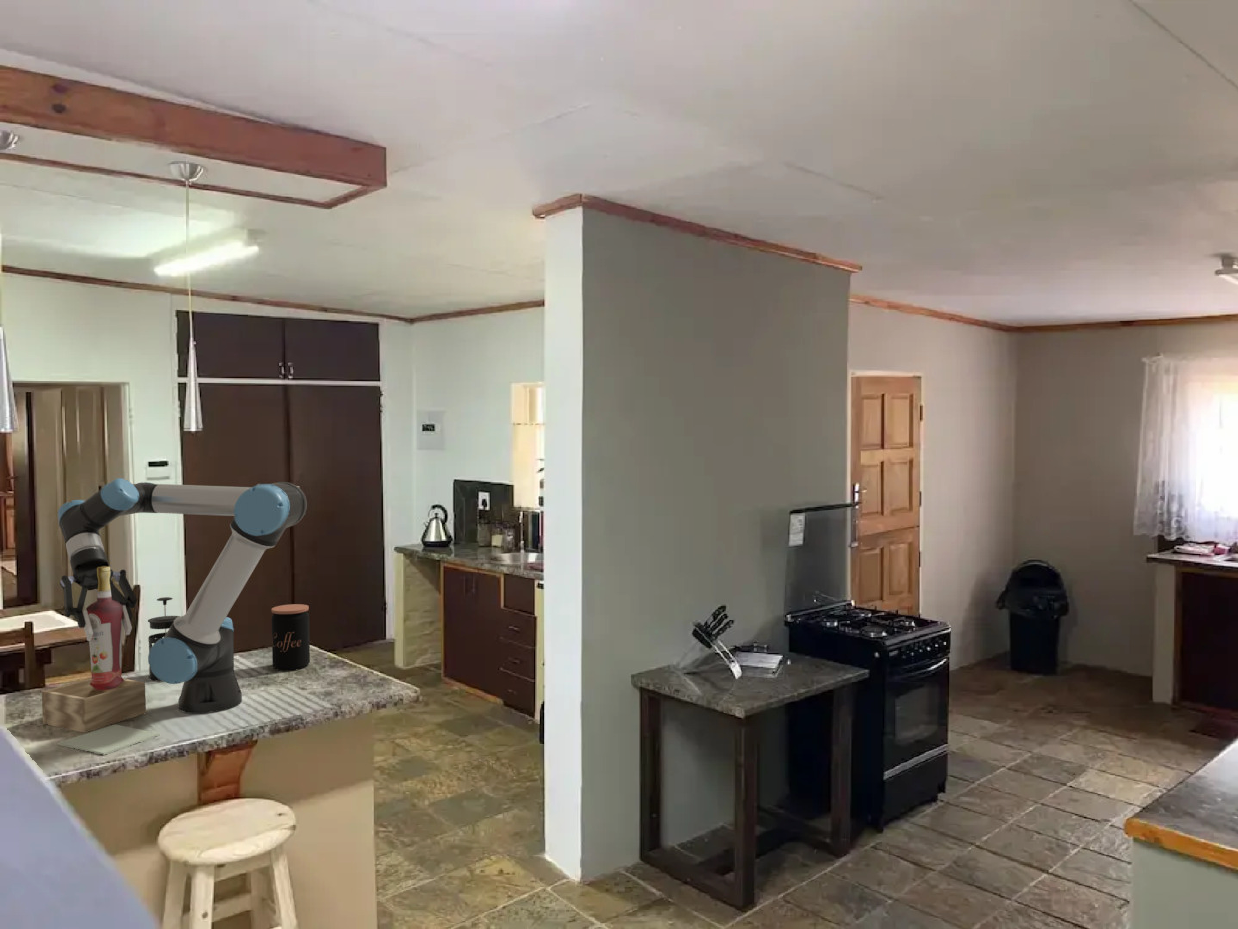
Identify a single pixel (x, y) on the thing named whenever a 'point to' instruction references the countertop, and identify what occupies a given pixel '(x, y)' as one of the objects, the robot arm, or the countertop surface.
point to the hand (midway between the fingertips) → (109, 634)
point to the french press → (159, 623)
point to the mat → (108, 739)
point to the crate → (92, 705)
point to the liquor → (105, 635)
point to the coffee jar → (290, 637)
